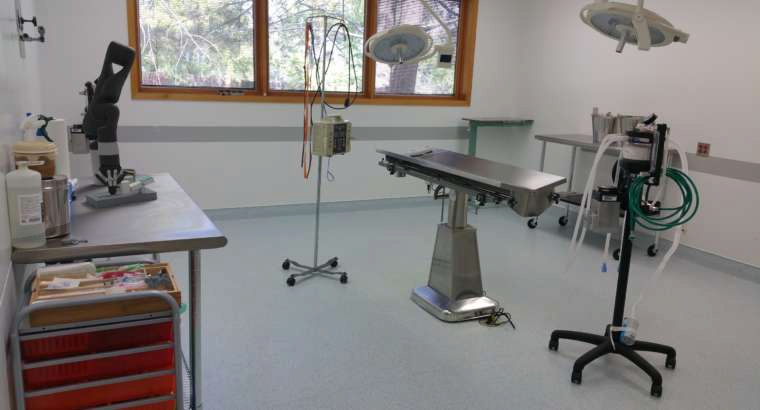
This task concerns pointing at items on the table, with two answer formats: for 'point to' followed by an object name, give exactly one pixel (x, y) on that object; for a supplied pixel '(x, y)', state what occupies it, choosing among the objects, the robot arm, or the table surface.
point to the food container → (129, 173)
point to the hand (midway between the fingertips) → (112, 194)
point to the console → (120, 197)
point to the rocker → (141, 183)
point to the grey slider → (129, 179)
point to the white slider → (124, 187)
